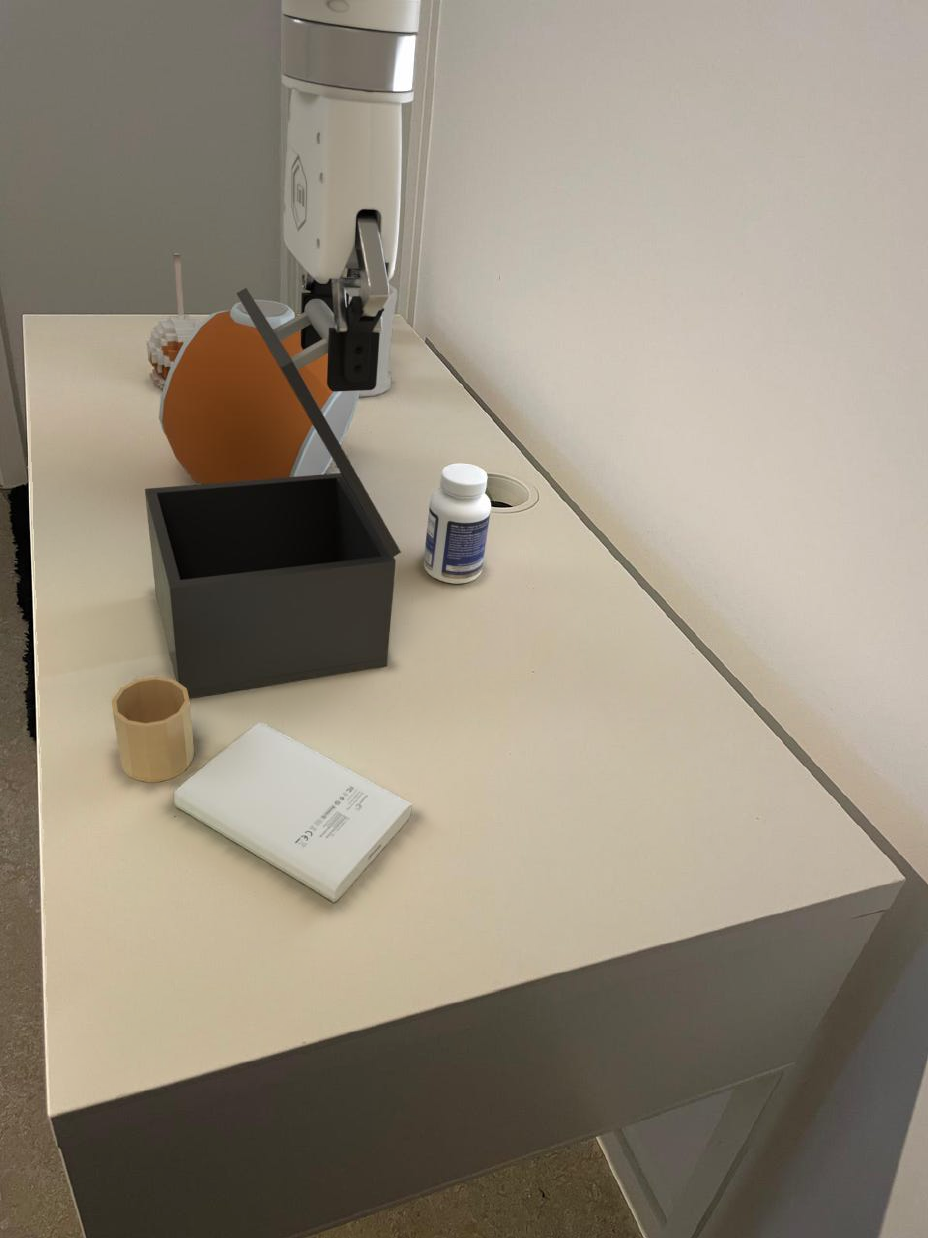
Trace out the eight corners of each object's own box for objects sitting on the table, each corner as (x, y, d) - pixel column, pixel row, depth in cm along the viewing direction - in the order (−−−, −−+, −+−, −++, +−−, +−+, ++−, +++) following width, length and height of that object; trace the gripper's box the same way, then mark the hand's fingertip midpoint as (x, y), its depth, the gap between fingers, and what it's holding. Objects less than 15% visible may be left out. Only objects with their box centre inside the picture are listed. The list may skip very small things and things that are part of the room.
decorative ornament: (160, 398, 104) (148, 264, 96) (145, 373, 110) (132, 244, 101) (226, 393, 108) (221, 263, 99) (209, 368, 113) (202, 243, 104)
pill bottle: (492, 567, 83) (507, 473, 78) (461, 592, 80) (475, 495, 74) (444, 546, 85) (455, 452, 80) (411, 569, 82) (421, 473, 76)
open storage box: (180, 700, 64) (169, 588, 59) (155, 593, 74) (144, 488, 69) (387, 666, 70) (396, 560, 64) (339, 571, 80) (343, 472, 74)
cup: (370, 408, 109) (375, 309, 102) (301, 391, 111) (302, 292, 104) (401, 380, 117) (408, 286, 110) (337, 365, 119) (340, 271, 112)
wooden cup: (124, 788, 57) (115, 731, 55) (117, 739, 61) (108, 683, 58) (198, 774, 59) (193, 718, 56) (187, 727, 62) (182, 671, 60)
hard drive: (261, 736, 63) (411, 817, 58) (174, 809, 57) (334, 906, 52) (260, 719, 62) (413, 800, 57) (172, 791, 56) (334, 888, 51)
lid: (280, 367, 53) (353, 326, 53) (236, 292, 63) (297, 258, 63) (391, 558, 64) (450, 523, 64) (339, 469, 74) (390, 440, 74)
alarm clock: (230, 424, 101) (223, 264, 91) (376, 459, 98) (386, 298, 88) (133, 498, 86) (112, 317, 76) (303, 542, 83) (305, 360, 73)
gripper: (251, 37, 56) (255, 326, 66) (325, 79, 43) (316, 426, 54) (367, 50, 59) (353, 324, 69) (468, 92, 46) (432, 419, 57)
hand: (337, 366), depth 61 cm, fingers closed on lid, 6 cm apart
